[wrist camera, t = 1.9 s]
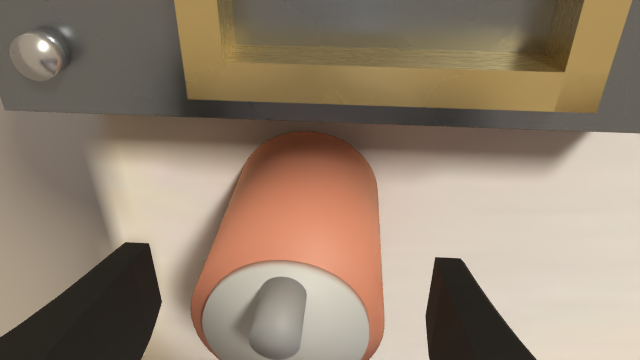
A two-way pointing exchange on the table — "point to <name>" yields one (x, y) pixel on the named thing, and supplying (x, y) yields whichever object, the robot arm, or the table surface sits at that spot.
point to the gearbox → (330, 61)
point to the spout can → (296, 257)
